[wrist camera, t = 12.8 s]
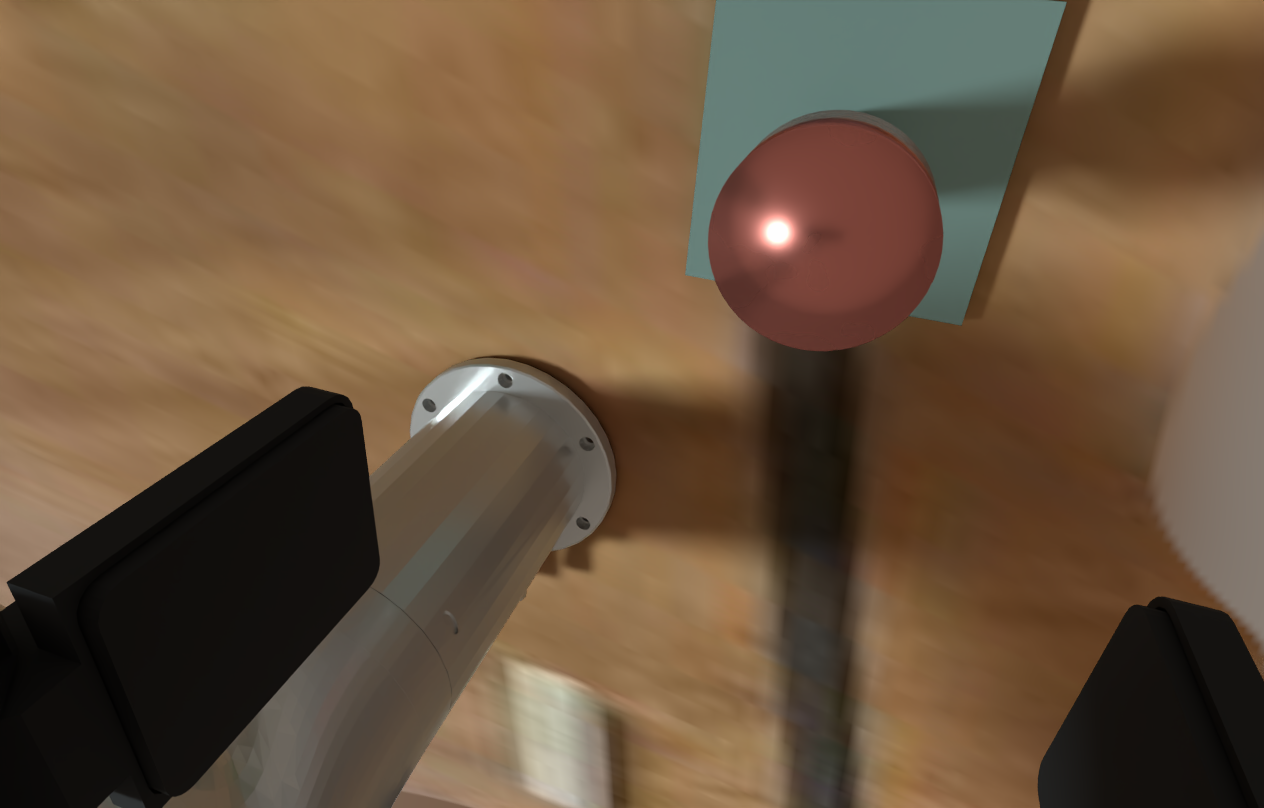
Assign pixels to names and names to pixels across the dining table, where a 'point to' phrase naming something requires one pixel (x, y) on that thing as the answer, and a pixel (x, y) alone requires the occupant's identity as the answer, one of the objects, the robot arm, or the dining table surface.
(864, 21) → the mat
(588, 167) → the dining table surface
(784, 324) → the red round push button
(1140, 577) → the dining table surface
